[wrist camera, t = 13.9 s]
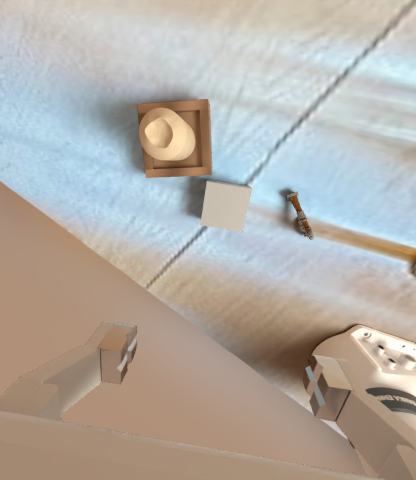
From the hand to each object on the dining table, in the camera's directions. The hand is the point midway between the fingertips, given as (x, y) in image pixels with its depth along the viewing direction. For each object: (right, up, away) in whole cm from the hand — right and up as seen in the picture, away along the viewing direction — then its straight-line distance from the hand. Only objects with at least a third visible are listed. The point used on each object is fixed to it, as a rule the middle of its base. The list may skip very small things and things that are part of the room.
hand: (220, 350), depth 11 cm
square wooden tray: (-5, +21, +26) cm, 34 cm away
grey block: (+2, +12, +29) cm, 31 cm away
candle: (-5, +20, +24) cm, 31 cm away
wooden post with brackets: (+15, +10, +29) cm, 34 cm away
